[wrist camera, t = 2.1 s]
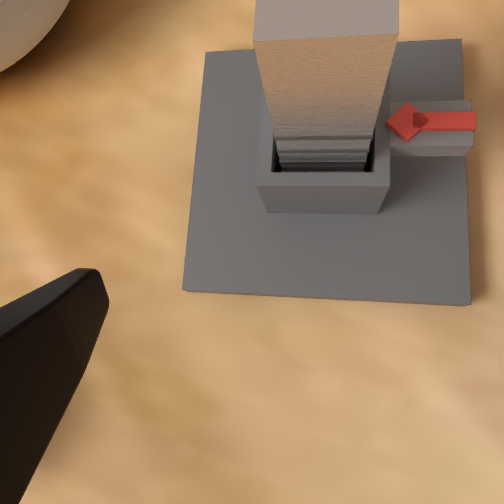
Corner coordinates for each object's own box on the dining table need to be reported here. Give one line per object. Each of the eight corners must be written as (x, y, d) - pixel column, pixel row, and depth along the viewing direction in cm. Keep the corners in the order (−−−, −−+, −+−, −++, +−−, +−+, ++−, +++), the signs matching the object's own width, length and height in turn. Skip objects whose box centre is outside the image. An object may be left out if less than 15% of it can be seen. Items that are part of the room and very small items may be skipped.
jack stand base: (463, 306, 20) (513, 296, 15) (188, 291, 22) (149, 278, 17) (455, 51, 22) (495, -32, 17) (210, 63, 25) (182, -7, 20)
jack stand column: (357, 194, 20) (400, 34, 10) (286, 193, 21) (251, 42, 10) (358, 128, 21) (400, -90, 10) (290, 129, 22) (260, -76, 11)
